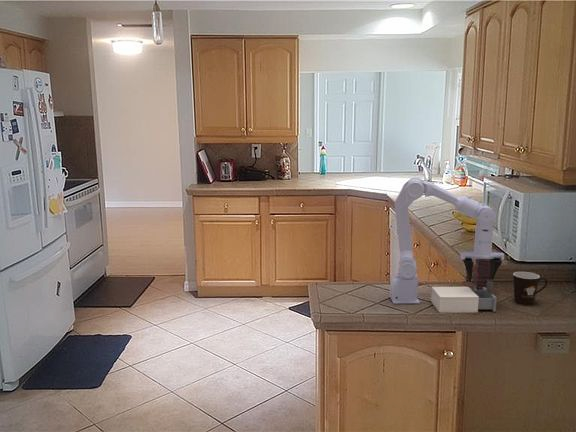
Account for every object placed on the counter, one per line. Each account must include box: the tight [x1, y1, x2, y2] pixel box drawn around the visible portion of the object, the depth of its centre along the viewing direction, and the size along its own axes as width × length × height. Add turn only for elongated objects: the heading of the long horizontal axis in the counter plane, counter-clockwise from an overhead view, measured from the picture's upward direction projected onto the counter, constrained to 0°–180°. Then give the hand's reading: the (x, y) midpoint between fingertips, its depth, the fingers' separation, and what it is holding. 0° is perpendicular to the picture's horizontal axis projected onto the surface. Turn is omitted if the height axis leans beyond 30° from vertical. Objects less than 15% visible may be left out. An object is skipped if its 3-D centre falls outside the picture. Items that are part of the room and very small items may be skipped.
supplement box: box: [473, 259, 492, 290], centre depth 204 cm, size 9×5×16 cm, turn 168°
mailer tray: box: [471, 279, 497, 312], centre depth 190 cm, size 13×11×9 cm
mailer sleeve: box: [430, 286, 479, 314], centre depth 190 cm, size 13×11×6 cm
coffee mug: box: [512, 271, 548, 306], centre depth 194 cm, size 12×9×10 cm
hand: (480, 278), depth 190 cm, fingers open, 7 cm apart
